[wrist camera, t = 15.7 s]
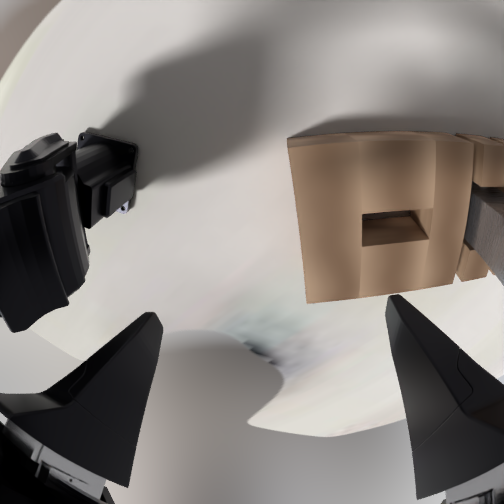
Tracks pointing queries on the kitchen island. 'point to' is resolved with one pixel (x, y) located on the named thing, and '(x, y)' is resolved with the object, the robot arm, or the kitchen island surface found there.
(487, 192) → the square bit
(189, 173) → the kitchen island surface
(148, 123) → the kitchen island surface
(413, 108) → the kitchen island surface
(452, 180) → the socket block
